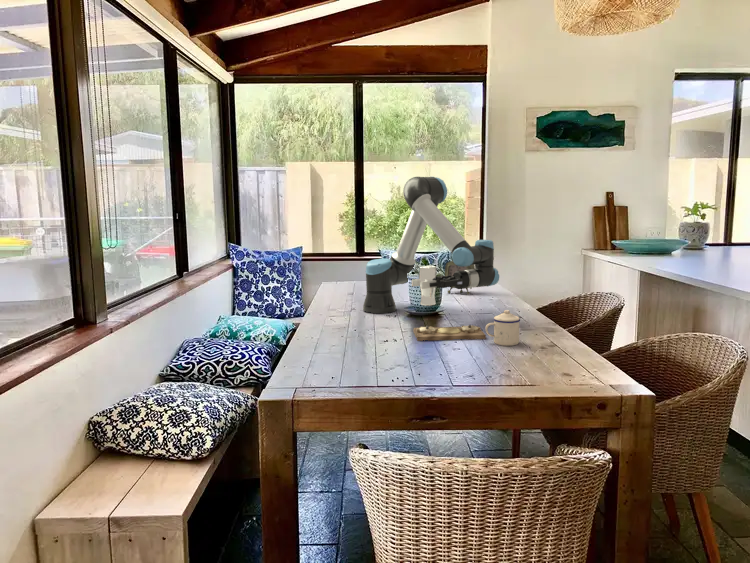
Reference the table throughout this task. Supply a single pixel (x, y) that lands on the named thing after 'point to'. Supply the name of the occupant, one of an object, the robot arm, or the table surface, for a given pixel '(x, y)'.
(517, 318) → the teacup with lid
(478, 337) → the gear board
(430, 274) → the beer glass
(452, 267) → the tabletop clock
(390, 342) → the table surface
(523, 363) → the table surface
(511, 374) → the table surface
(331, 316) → the table surface
